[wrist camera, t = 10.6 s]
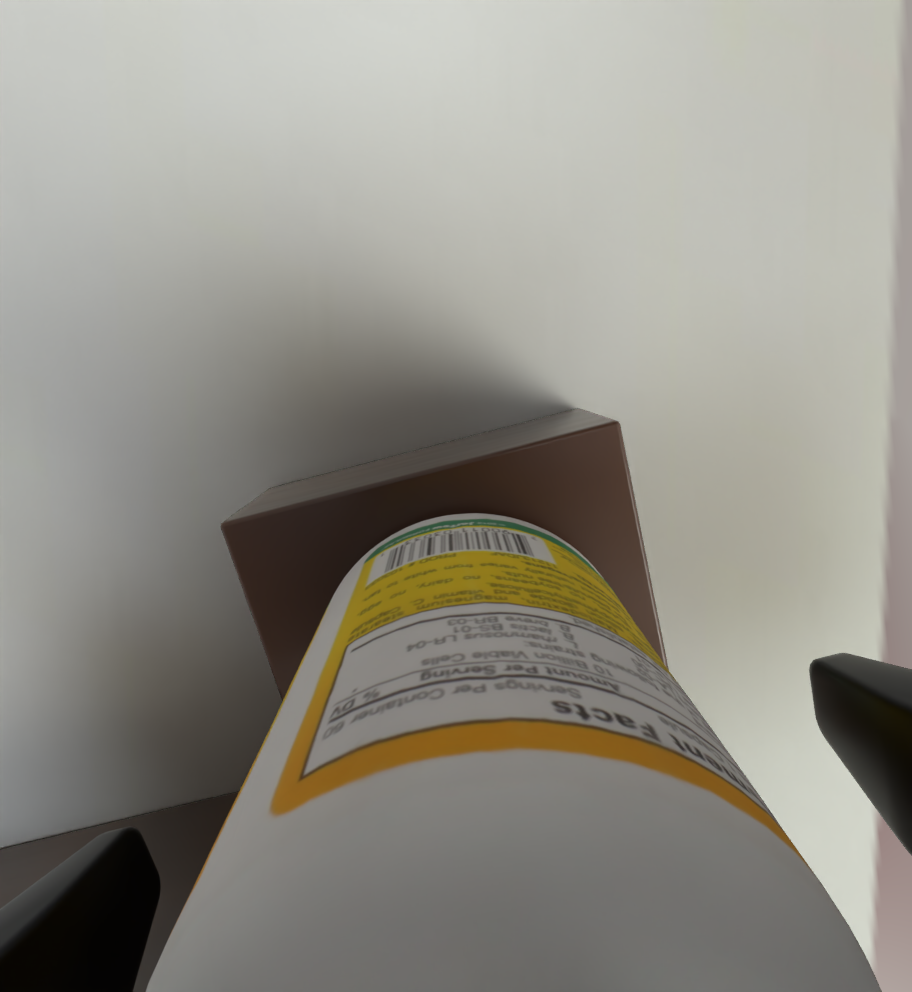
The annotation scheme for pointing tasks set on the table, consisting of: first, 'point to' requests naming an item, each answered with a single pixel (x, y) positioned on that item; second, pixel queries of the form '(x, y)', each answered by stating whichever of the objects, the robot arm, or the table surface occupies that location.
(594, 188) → the table surface
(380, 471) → the step shelf
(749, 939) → the supplement bottle
